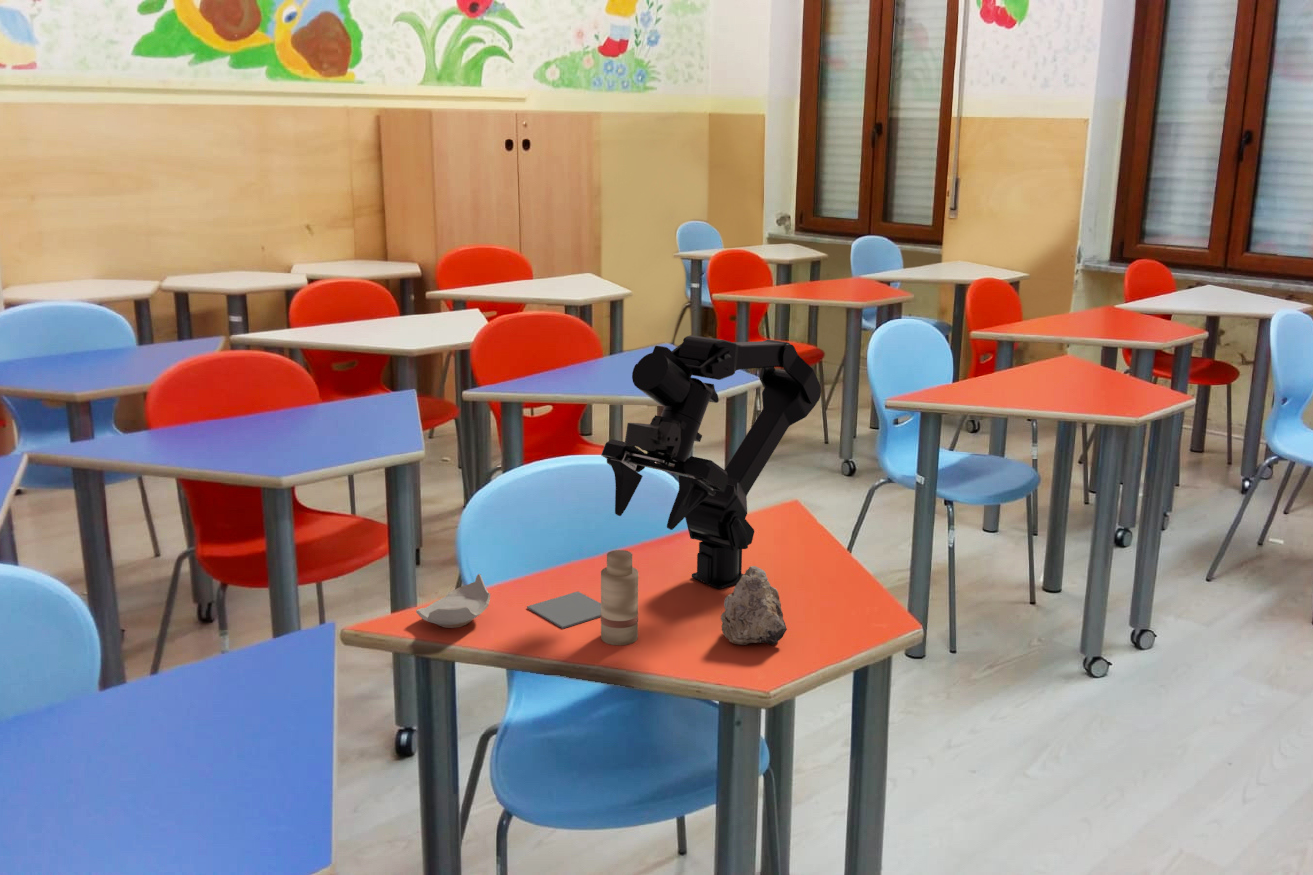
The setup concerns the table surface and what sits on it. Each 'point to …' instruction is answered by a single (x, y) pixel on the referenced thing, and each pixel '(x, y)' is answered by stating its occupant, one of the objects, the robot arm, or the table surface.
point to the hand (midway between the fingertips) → (643, 521)
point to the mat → (568, 609)
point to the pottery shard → (458, 605)
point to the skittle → (619, 599)
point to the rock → (753, 611)
